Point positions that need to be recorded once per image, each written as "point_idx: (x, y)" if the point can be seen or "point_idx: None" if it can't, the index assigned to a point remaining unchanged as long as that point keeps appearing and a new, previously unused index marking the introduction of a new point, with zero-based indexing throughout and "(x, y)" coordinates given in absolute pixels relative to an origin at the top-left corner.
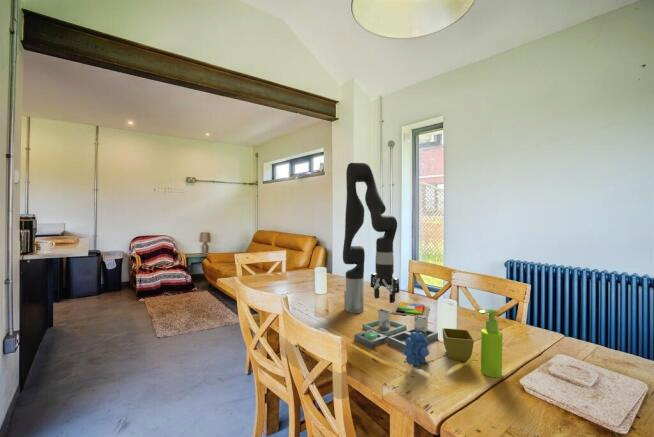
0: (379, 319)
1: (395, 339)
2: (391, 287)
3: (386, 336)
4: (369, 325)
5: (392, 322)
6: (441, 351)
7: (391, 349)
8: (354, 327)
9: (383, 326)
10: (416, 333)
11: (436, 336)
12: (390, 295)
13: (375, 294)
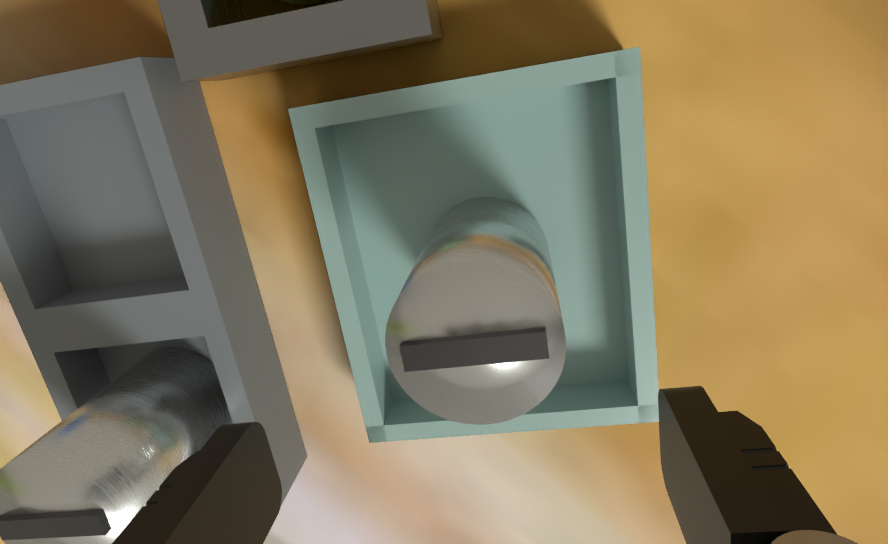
0: (484, 227)
1: (63, 92)
2: None
3: (189, 74)
4: (617, 151)
5: None
6: (3, 368)
7: (120, 43)
8: (768, 17)
9: (438, 228)
10: None
11: None
12: (142, 534)
13: (699, 437)
